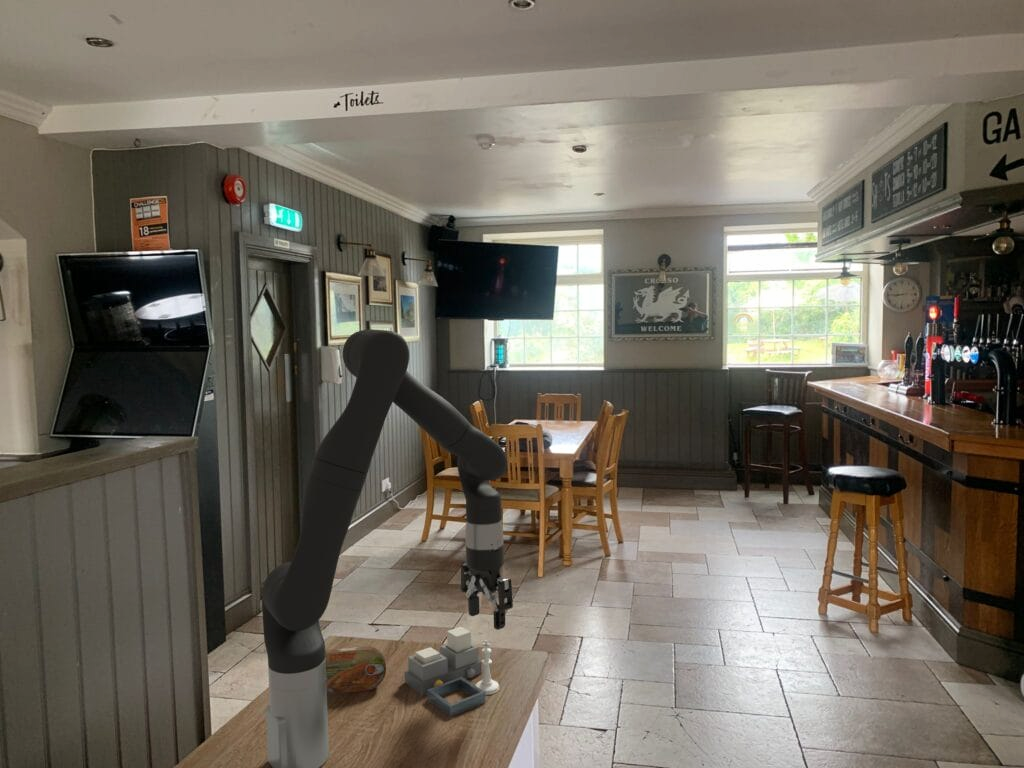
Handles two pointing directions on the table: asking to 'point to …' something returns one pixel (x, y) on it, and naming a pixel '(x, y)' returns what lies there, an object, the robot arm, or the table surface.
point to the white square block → (427, 655)
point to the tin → (354, 669)
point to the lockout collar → (459, 706)
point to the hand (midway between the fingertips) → (486, 621)
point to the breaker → (459, 639)
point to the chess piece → (487, 673)
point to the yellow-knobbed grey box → (442, 668)
